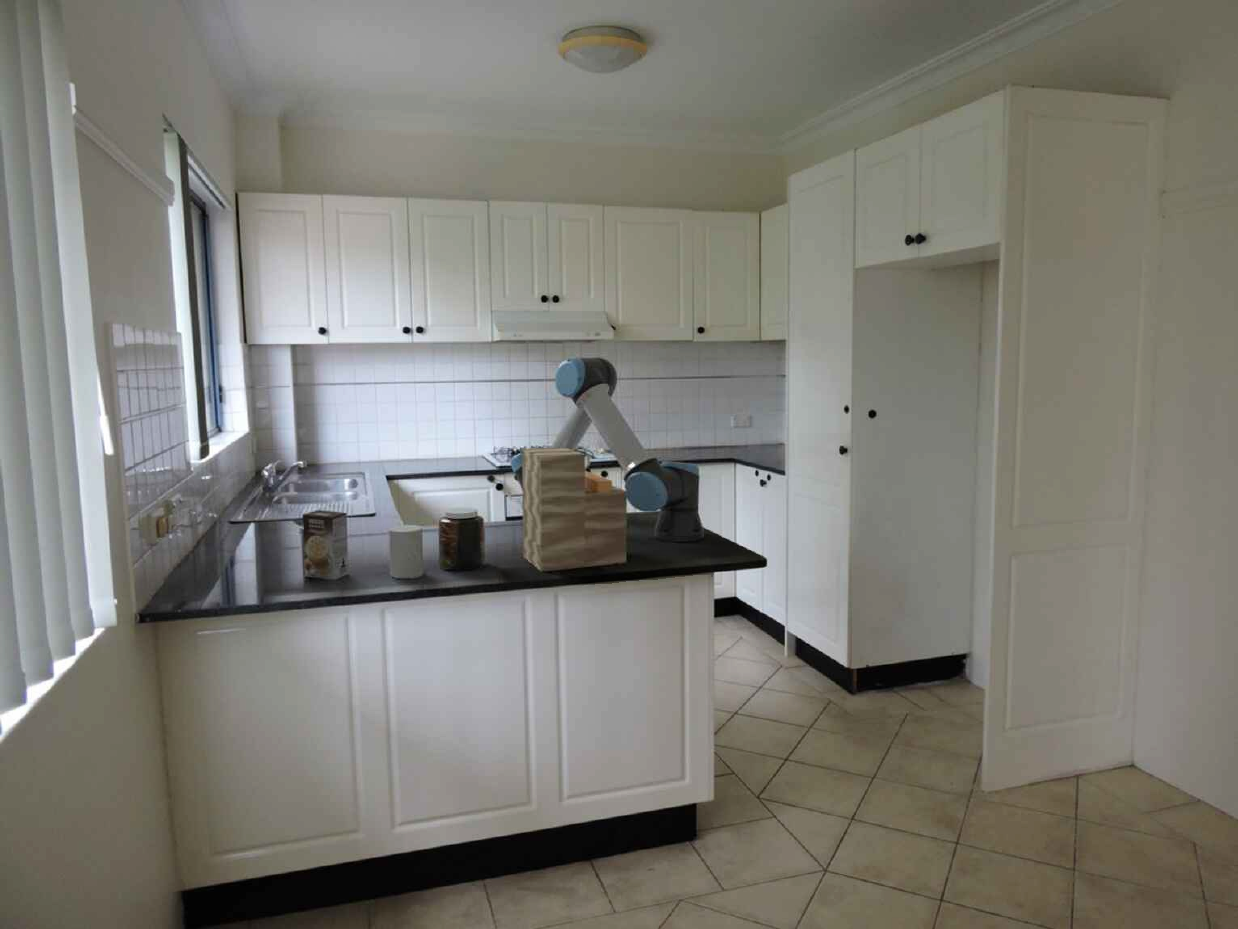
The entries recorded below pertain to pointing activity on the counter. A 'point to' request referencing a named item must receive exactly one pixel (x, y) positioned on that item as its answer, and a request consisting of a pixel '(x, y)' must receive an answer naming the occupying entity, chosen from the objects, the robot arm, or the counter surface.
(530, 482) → the wooden stepped block
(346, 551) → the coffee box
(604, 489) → the orange box
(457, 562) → the jar
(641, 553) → the counter surface
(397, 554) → the cup
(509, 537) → the counter surface
